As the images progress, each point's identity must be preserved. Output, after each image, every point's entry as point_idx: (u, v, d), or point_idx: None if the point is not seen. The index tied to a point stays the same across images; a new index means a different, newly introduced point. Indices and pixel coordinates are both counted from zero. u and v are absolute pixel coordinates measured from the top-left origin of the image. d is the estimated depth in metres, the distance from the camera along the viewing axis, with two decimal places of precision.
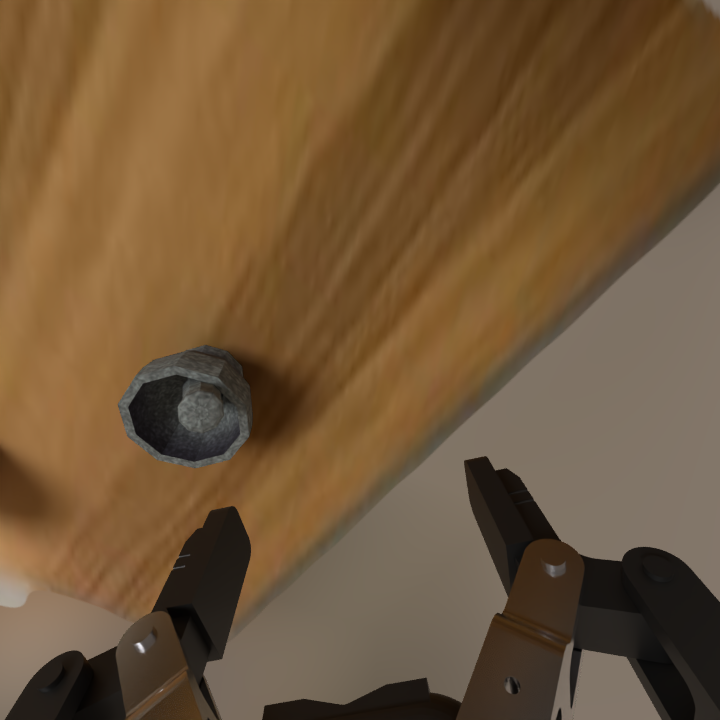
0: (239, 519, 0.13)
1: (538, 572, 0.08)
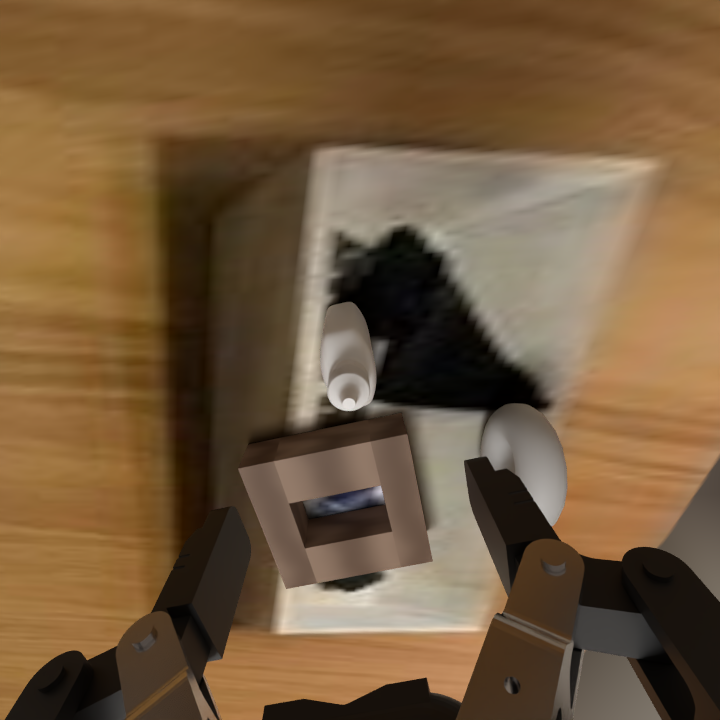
0: (239, 519, 0.13)
1: (538, 572, 0.08)
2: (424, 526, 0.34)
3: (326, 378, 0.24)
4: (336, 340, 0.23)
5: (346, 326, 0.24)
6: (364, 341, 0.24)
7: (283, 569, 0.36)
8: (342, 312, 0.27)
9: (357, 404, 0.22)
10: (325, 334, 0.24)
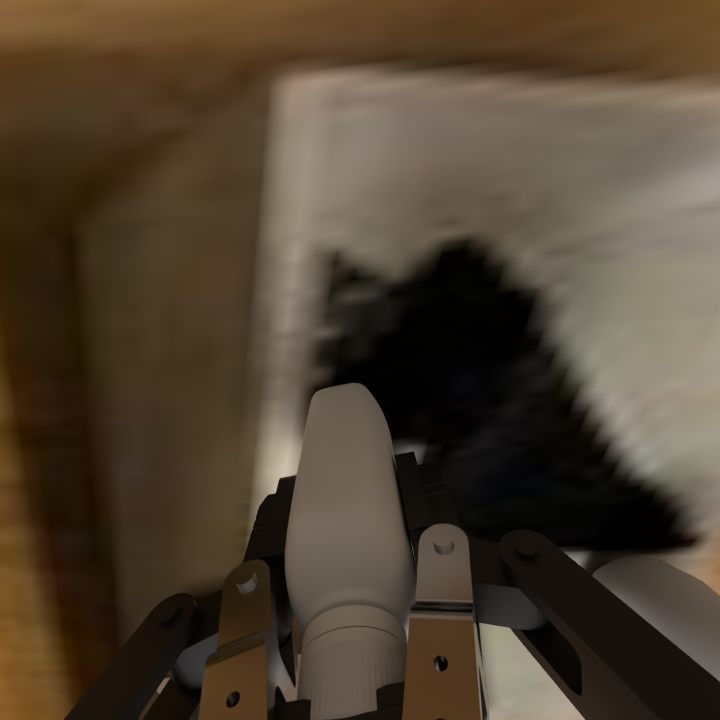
0: None
1: (434, 556, 0.09)
2: None
3: (299, 625, 0.10)
4: (323, 544, 0.09)
5: (347, 495, 0.10)
6: (393, 534, 0.10)
7: None
8: (340, 424, 0.13)
9: None
10: (296, 519, 0.09)
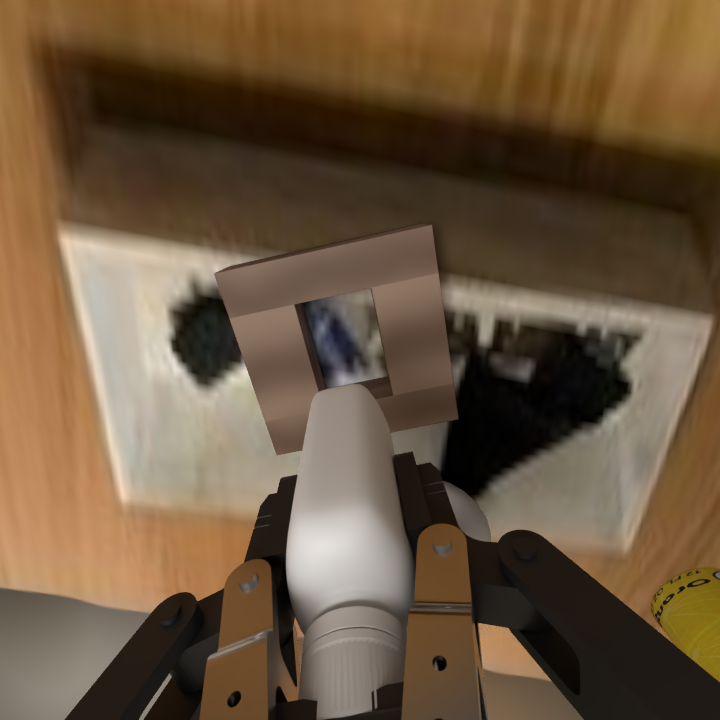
0: None
1: (433, 556, 0.09)
2: None
3: (300, 626, 0.10)
4: (324, 545, 0.09)
5: (349, 496, 0.10)
6: (394, 535, 0.10)
7: (253, 272, 0.25)
8: (341, 425, 0.13)
9: None
10: (297, 520, 0.09)
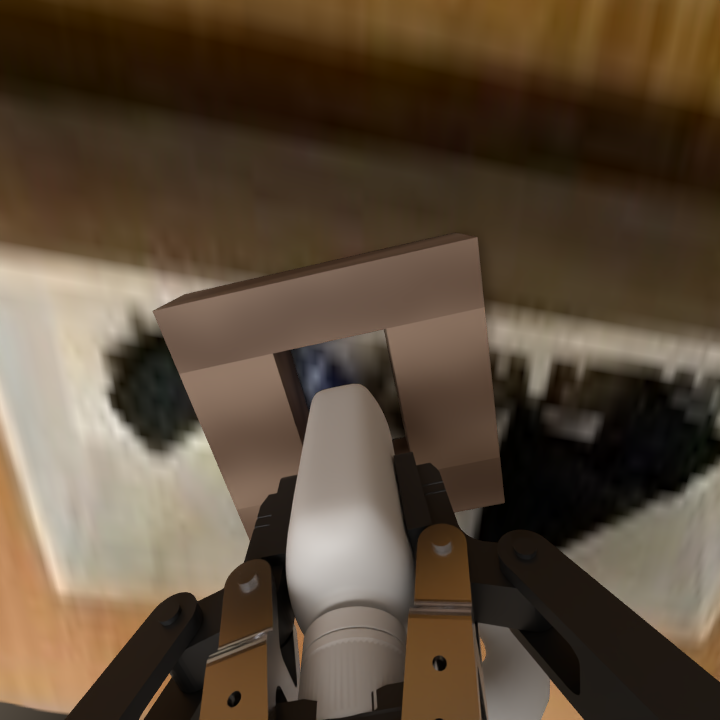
0: None
1: (433, 556, 0.09)
2: None
3: (300, 626, 0.10)
4: (324, 545, 0.09)
5: (348, 496, 0.10)
6: (394, 535, 0.10)
7: (210, 308, 0.17)
8: (340, 425, 0.13)
9: None
10: (297, 520, 0.09)
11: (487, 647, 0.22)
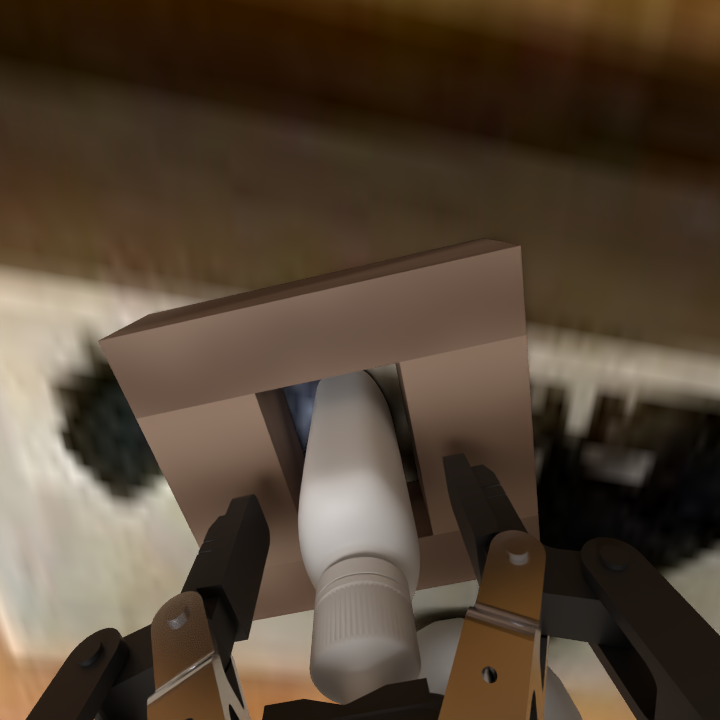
0: (259, 507, 0.14)
1: (504, 563, 0.09)
2: None
3: (312, 580, 0.11)
4: (332, 505, 0.10)
5: (353, 463, 0.11)
6: (395, 497, 0.11)
7: (173, 337, 0.13)
8: (345, 405, 0.14)
9: None
10: (308, 484, 0.11)
11: None
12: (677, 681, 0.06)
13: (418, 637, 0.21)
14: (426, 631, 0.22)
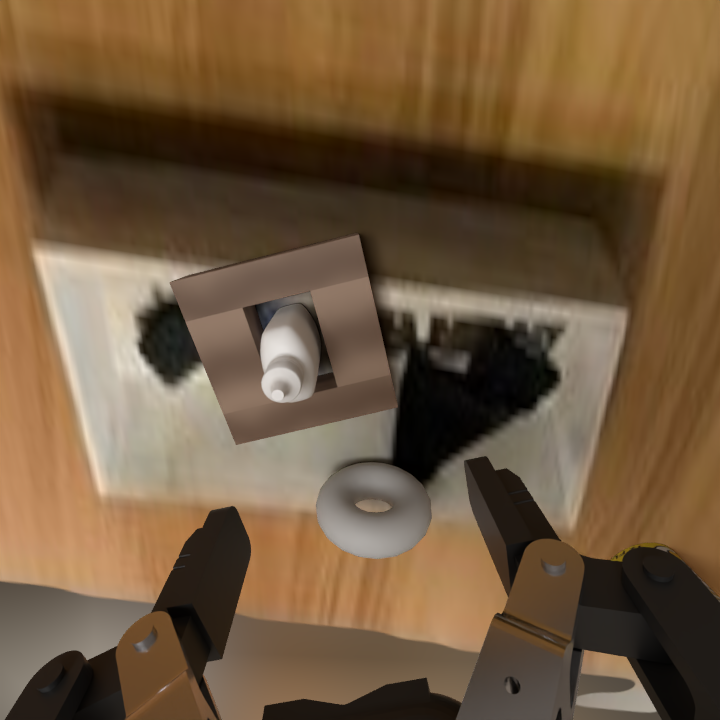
0: (239, 519, 0.13)
1: (538, 572, 0.08)
2: (284, 432, 0.33)
3: None
4: (272, 338, 0.25)
5: (282, 325, 0.26)
6: (299, 338, 0.26)
7: (203, 280, 0.28)
8: (285, 313, 0.29)
9: (289, 396, 0.23)
10: (263, 333, 0.26)
11: None
12: (718, 703, 0.06)
13: (343, 468, 0.36)
14: (348, 466, 0.37)
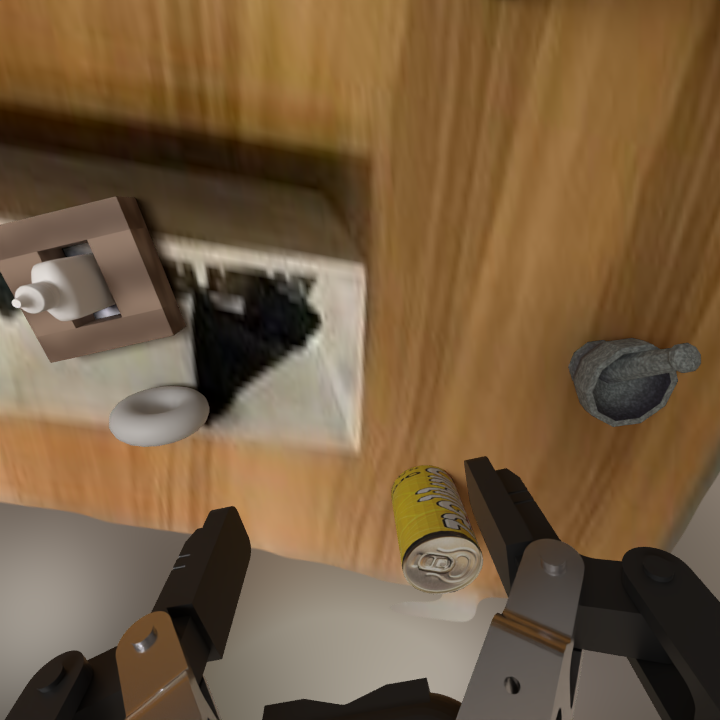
0: (239, 519, 0.13)
1: (538, 572, 0.08)
2: (87, 353, 0.42)
3: None
4: (36, 269, 0.34)
5: None
6: (60, 270, 0.35)
7: (3, 229, 0.37)
8: None
9: (36, 307, 0.33)
10: (33, 266, 0.35)
11: None
12: (718, 703, 0.06)
13: (149, 389, 0.46)
14: (155, 388, 0.46)
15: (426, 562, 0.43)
